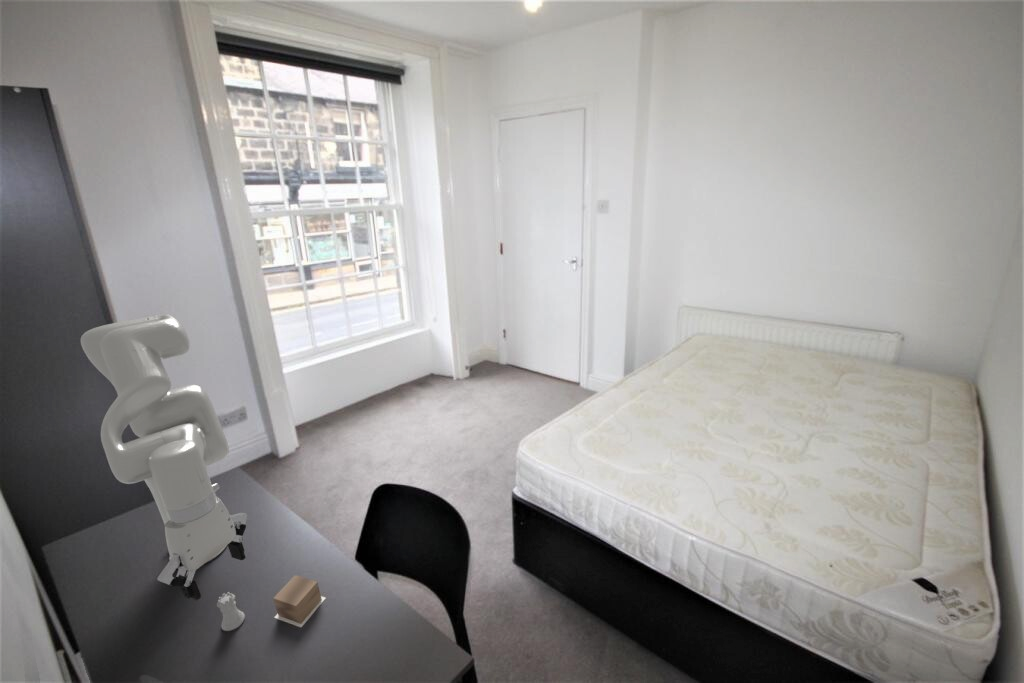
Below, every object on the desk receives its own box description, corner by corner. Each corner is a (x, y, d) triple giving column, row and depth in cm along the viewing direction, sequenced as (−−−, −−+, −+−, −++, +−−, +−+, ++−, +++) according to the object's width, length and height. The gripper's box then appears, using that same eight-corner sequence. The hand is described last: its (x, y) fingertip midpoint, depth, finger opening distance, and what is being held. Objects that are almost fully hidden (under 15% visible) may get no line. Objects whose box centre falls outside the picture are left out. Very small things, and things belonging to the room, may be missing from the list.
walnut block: (278, 615, 94) (273, 598, 93) (299, 592, 100) (295, 574, 98) (301, 623, 92) (296, 606, 91) (321, 599, 98) (317, 581, 96)
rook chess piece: (236, 637, 91) (225, 609, 89) (217, 634, 92) (206, 605, 90) (252, 617, 96) (242, 589, 93) (234, 614, 96) (224, 586, 94)
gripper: (219, 474, 92) (241, 540, 98) (127, 534, 77) (159, 609, 82) (247, 480, 89) (267, 548, 95) (157, 543, 74) (188, 620, 80)
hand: (217, 576), depth 89 cm, fingers open, 9 cm apart
